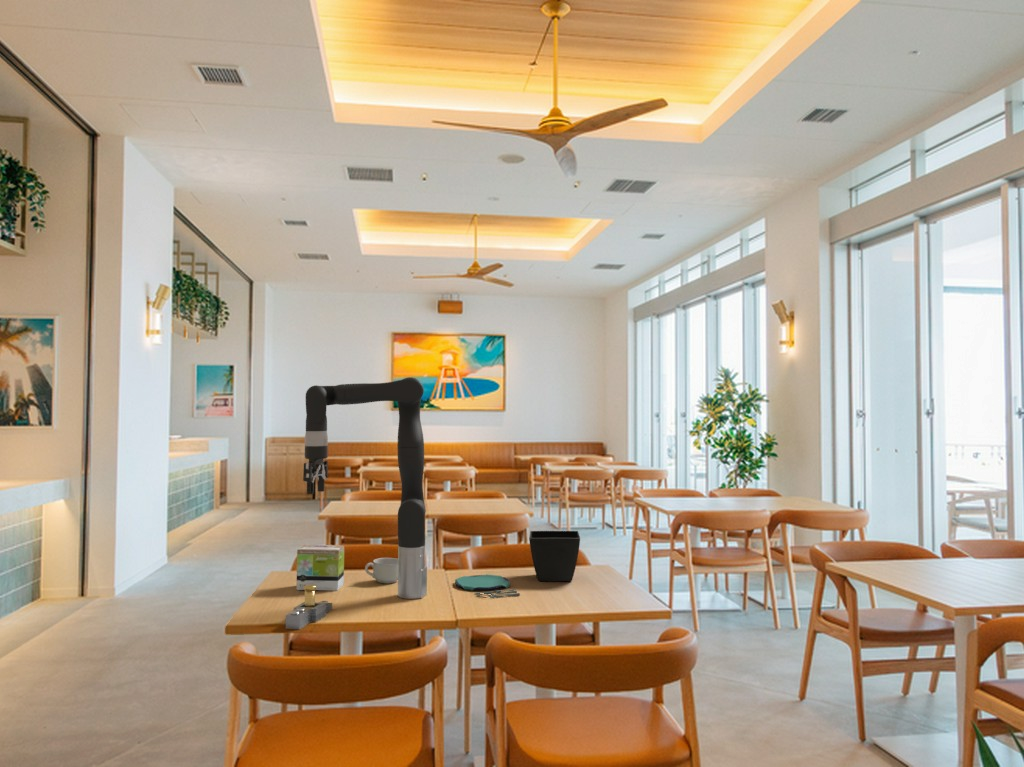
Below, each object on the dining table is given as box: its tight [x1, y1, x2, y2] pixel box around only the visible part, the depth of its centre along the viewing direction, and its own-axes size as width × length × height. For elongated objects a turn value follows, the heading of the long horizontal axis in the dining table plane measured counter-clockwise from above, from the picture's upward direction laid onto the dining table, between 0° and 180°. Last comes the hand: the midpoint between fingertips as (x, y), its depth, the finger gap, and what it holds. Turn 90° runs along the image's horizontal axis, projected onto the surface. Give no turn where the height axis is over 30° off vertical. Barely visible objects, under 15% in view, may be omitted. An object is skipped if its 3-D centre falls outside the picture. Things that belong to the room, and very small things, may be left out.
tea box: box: [296, 544, 345, 592], centre depth 277 cm, size 15×10×15 cm, turn 90°
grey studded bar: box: [285, 600, 333, 630], centre depth 236 cm, size 7×23×5 cm, turn 170°
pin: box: [303, 584, 316, 607], centre depth 236 cm, size 4×4×10 cm
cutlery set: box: [454, 573, 521, 599], centre depth 276 cm, size 20×30×2 cm, turn 18°
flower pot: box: [528, 530, 581, 582], centre depth 293 cm, size 19×19×17 cm
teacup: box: [364, 557, 398, 584], centre depth 286 cm, size 14×11×8 cm
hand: (315, 492), depth 259 cm, fingers open, 8 cm apart
